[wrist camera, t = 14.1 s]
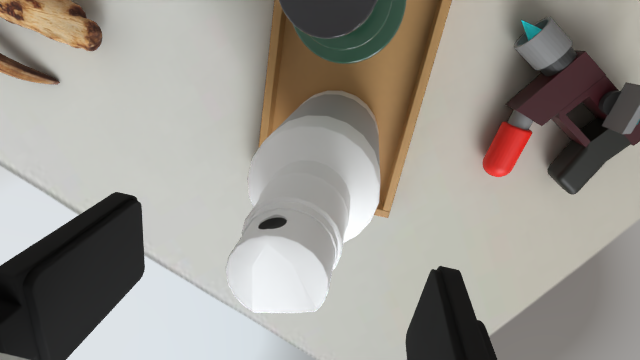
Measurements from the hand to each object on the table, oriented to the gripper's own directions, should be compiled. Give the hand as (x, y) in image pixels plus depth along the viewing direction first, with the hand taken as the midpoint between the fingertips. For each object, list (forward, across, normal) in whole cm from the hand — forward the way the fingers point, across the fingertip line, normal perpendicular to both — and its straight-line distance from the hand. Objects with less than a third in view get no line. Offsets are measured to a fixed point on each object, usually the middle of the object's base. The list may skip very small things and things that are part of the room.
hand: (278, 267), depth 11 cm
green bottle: (+18, 0, -8) cm, 20 cm away
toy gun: (+19, -14, -3) cm, 24 cm away
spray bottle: (+18, 0, +1) cm, 18 cm away
